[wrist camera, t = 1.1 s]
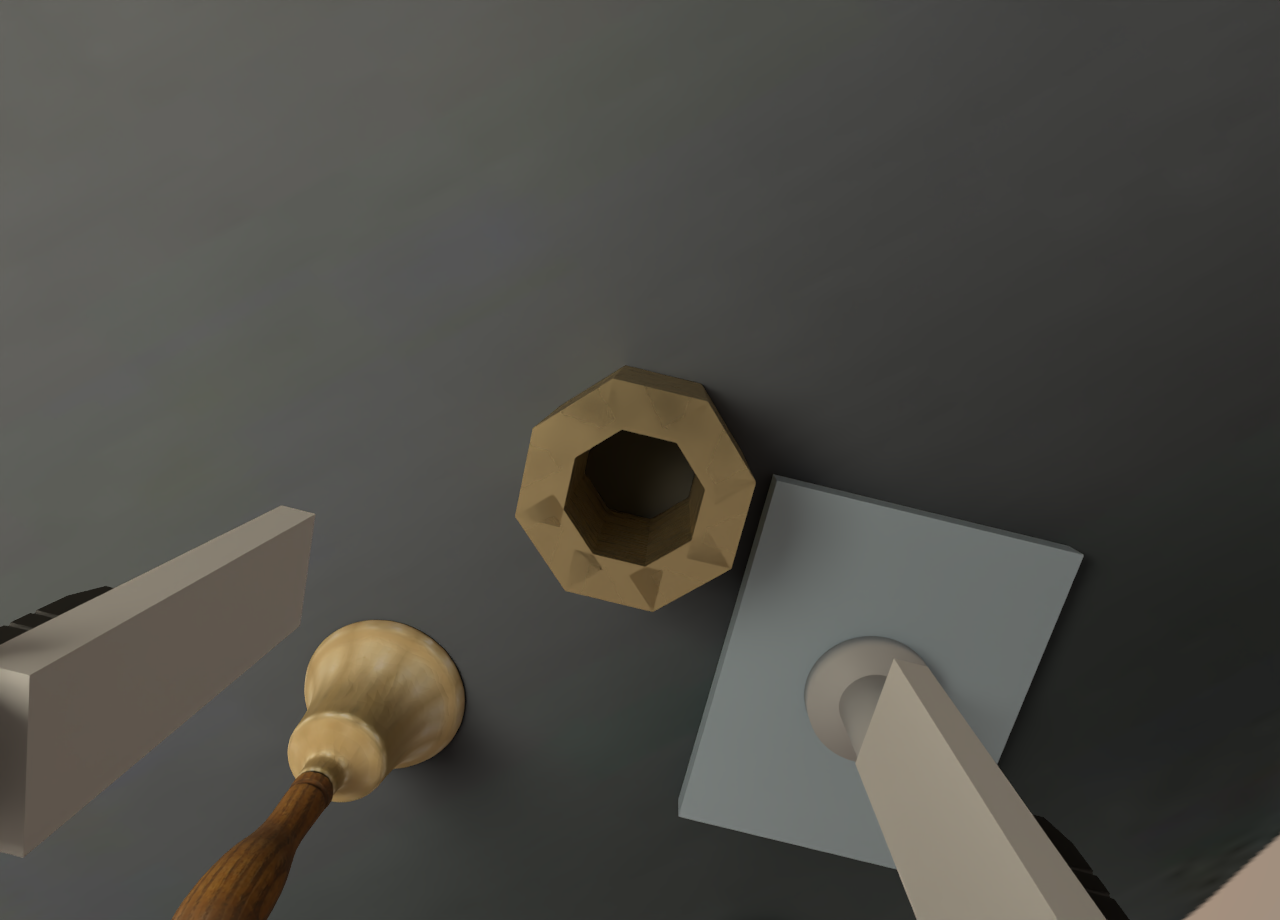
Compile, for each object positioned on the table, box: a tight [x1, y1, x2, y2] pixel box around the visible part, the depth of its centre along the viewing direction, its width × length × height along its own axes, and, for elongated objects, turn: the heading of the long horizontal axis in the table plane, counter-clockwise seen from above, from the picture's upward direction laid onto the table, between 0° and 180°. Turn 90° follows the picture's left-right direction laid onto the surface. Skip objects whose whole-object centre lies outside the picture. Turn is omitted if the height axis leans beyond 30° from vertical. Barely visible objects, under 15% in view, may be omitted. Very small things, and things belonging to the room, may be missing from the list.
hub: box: [515, 365, 756, 612], centre depth 28 cm, size 8×8×6 cm
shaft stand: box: [678, 474, 1084, 869], centre depth 29 cm, size 18×14×7 cm
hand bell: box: [172, 620, 465, 920], centre depth 27 cm, size 8×8×16 cm
